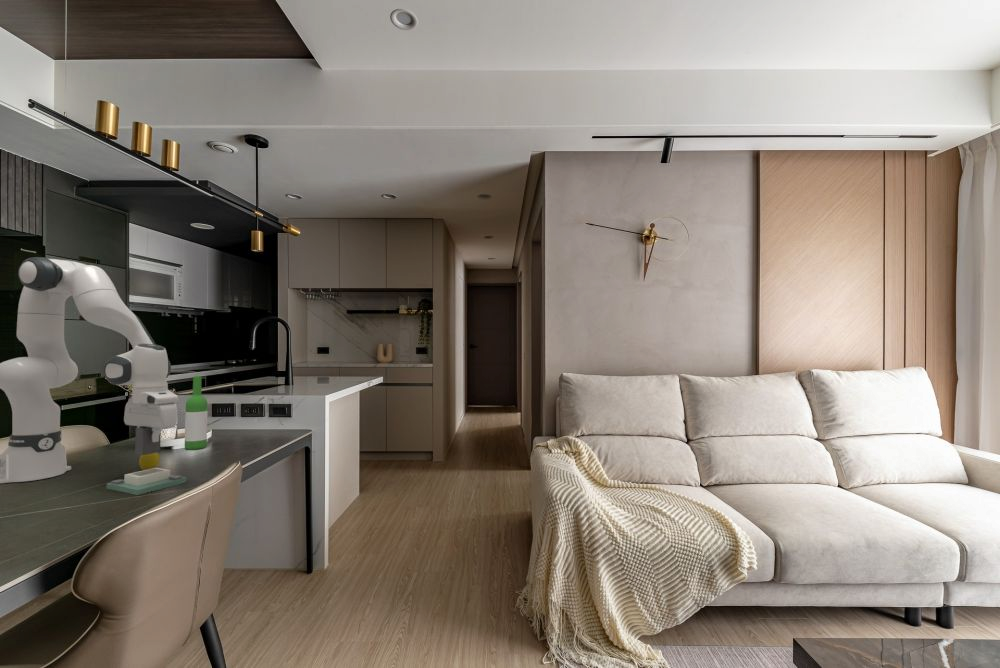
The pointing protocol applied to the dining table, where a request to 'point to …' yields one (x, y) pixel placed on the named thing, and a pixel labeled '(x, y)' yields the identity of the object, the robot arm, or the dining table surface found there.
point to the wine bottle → (196, 418)
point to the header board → (146, 481)
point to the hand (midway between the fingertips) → (149, 441)
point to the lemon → (149, 461)
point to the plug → (145, 442)
